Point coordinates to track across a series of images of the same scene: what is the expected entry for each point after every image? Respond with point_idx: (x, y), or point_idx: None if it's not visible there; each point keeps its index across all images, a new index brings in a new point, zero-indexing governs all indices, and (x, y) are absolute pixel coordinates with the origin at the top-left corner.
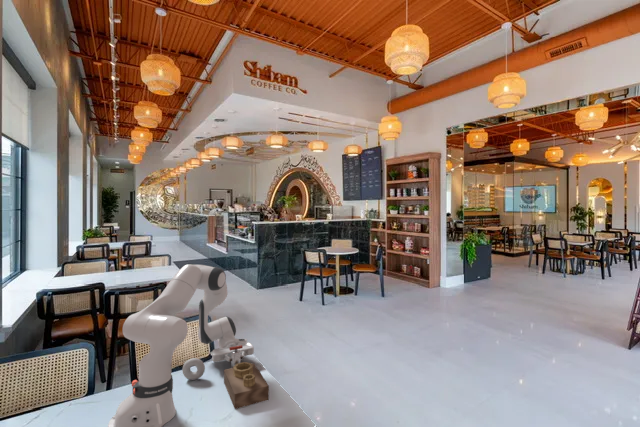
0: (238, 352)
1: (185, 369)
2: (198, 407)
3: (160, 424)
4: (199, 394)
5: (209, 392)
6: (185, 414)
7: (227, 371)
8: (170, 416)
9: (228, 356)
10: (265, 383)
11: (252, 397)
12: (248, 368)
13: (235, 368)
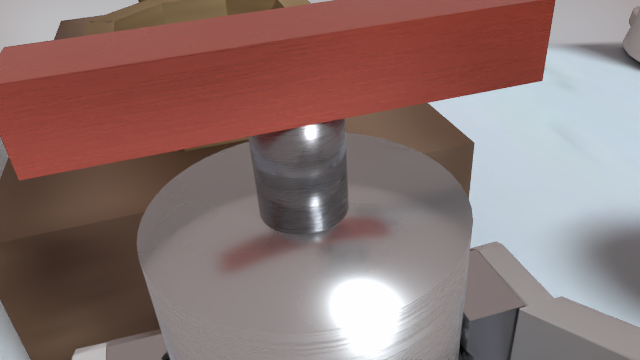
0: (222, 179)
1: None
2: (529, 89)
3: (636, 12)
4: (619, 165)
5: (541, 179)
6: (572, 64)
7: (408, 117)
8: (631, 29)
9: (550, 316)
10: (70, 29)
11: None
12: (150, 6)
13: (293, 2)
